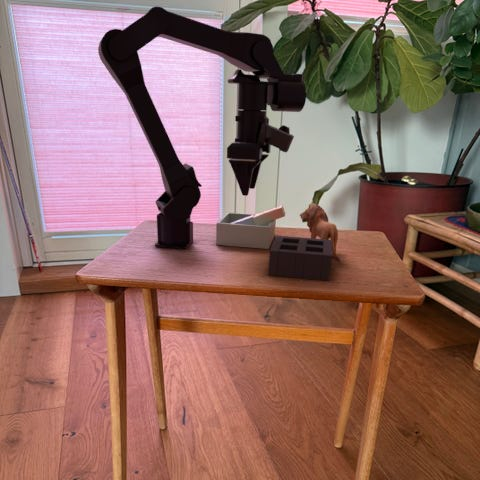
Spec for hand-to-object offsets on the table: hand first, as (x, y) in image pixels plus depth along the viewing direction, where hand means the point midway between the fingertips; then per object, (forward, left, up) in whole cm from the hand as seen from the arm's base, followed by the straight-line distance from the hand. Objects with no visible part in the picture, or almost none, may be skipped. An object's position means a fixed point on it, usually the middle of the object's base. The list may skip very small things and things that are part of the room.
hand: (248, 191), depth 96 cm
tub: (0, 0, -10) cm, 10 cm away
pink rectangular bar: (-4, 0, -9) cm, 10 cm away
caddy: (+13, -17, -10) cm, 23 cm away
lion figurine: (+16, -5, -11) cm, 20 cm away
